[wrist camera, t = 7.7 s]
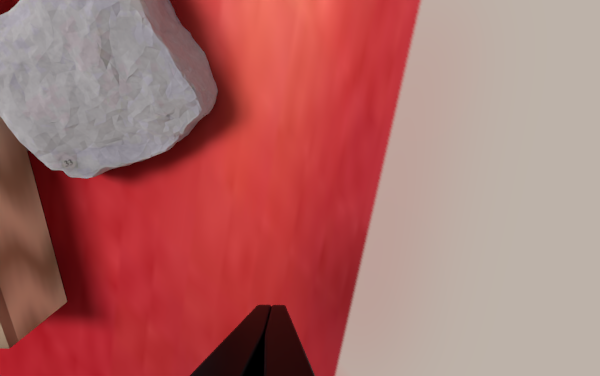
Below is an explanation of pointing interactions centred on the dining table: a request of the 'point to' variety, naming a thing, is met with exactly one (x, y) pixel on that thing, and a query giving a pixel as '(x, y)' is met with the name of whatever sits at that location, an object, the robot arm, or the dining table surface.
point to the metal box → (23, 247)
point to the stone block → (100, 81)
